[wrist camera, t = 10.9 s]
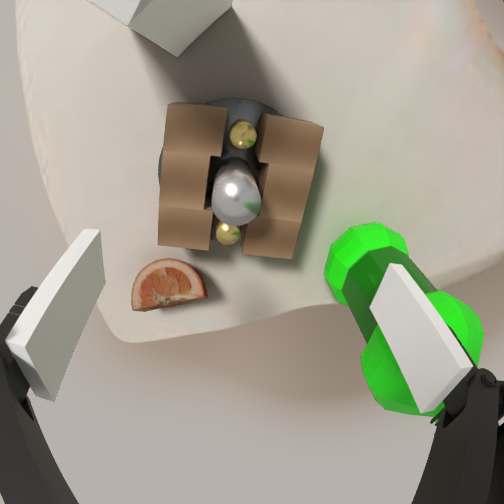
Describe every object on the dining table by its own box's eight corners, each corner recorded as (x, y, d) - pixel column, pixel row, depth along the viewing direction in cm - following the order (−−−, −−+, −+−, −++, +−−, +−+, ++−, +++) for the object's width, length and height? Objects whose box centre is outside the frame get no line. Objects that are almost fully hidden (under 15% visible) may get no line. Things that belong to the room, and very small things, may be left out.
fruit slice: (151, 303, 36) (143, 331, 32) (129, 258, 32) (116, 284, 28) (215, 290, 35) (214, 319, 31) (197, 241, 32) (194, 266, 28)
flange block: (176, 102, 23) (167, 103, 20) (310, 122, 25) (324, 127, 22) (165, 225, 29) (157, 244, 26) (284, 238, 31) (291, 259, 28)
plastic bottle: (379, 193, 31) (545, 364, 9) (400, 262, 36) (510, 422, 14) (300, 234, 33) (395, 464, 11) (333, 298, 38) (406, 483, 16)
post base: (277, 78, 24) (300, 72, 16) (320, 207, 31) (351, 250, 23) (138, 135, 26) (103, 155, 18) (197, 253, 33) (190, 307, 25)
